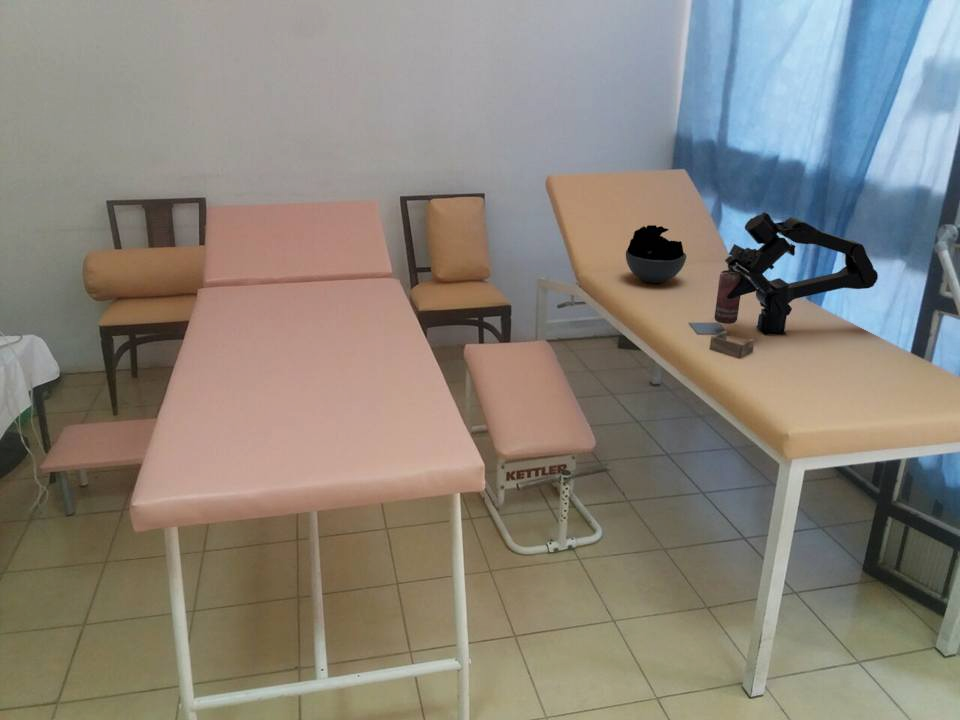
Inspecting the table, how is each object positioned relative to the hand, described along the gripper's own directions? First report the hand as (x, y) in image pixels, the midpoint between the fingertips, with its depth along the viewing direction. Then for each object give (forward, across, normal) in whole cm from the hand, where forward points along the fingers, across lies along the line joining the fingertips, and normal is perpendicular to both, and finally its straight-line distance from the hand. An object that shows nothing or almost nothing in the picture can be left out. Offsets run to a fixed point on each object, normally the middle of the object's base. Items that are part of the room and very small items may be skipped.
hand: (723, 294), depth 216 cm
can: (+4, 0, +6) cm, 8 cm away
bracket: (+9, +13, +7) cm, 17 cm away
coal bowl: (+10, -49, +6) cm, 51 cm away
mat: (+9, -3, +7) cm, 12 cm away
